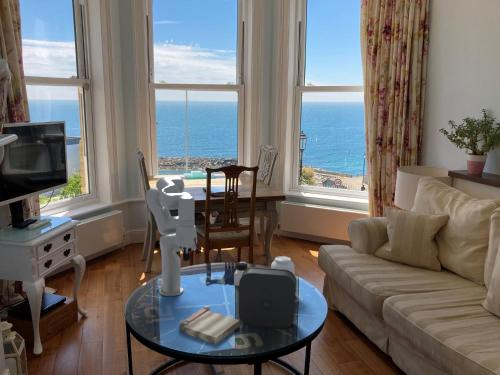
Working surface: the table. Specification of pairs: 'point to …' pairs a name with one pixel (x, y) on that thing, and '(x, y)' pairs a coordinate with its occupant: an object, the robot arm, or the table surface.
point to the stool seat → (210, 327)
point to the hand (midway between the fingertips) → (186, 260)
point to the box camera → (239, 272)
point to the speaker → (267, 297)
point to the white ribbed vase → (283, 264)
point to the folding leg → (198, 314)
